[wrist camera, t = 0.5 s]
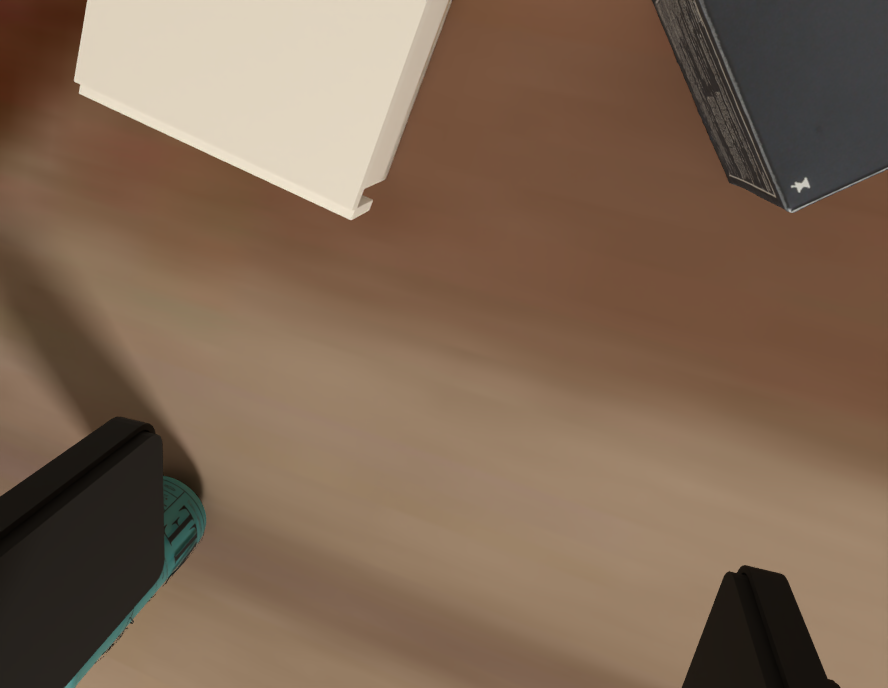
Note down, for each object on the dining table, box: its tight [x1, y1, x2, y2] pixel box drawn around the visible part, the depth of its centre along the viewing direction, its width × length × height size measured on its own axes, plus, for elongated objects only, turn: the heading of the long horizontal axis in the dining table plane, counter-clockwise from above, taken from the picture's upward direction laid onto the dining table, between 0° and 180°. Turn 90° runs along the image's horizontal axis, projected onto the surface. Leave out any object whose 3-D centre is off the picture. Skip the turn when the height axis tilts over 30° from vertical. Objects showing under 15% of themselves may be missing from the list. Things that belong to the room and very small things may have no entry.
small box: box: [652, 0, 888, 213], centre depth 28 cm, size 11×6×10 cm, turn 29°
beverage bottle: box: [65, 476, 206, 688], centre depth 41 cm, size 6×7×20 cm
